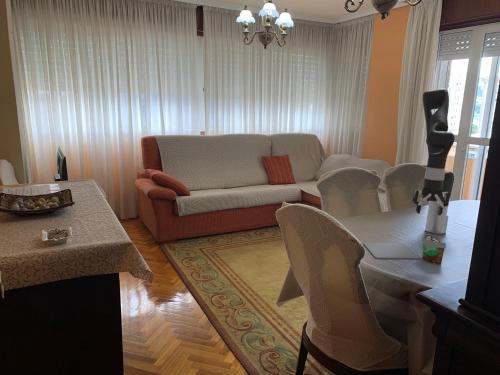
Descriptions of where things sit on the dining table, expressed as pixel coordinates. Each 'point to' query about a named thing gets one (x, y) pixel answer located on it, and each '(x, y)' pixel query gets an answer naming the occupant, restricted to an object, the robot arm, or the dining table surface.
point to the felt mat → (391, 251)
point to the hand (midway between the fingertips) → (428, 214)
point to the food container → (432, 249)
